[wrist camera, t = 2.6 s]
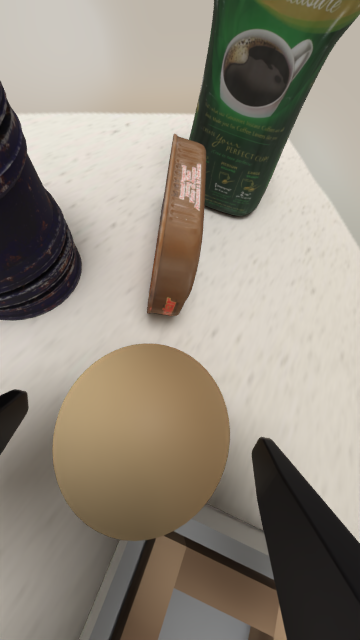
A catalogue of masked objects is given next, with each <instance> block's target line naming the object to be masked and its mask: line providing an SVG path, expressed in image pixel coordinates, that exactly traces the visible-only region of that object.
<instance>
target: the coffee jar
mask: <svg viewBox="0 0 360 640" xmlns="http://www.w3.org/2000/svg"><path fill="white" fill-rule="evenodd" d="M359 14H360V0H214V11H213V20H212V28H211V35H210V41H209V47H208V54H207V59H206V65H205V71H204V76H203V81H202V86H201V90H200V95H199V100H198V104H197V108H196V113H195V117H194V121H193V126H192V130H191V134H190V138H189V140H191V141H194V142H197V143H200V144H202V145H203V146H204V147H205V150H206V179H205V202H204V205H205V206H208V207H210V208H213V209H215V210H218V211H221V212H224V213H228V214H231V215H236V216H243V215H246V214H249V213H251V212H252V211H254V210H255V209H256V207H257V206H258V204H259V202H260V200H261V198H262V196H263V195H264V192H265V190H266V188H267V186H268V184H269V182H270V179H271V177H272V175H273V172H274V170H275V168H276V165H277V163H278V160H279V158H280V156H281V153H282V151H283V149H284V146H285V144H286V142H287V139H288V137H289V135H290V133H291V130H292V128H293V126H294V124H295V121H296V119H297V117H298V115H299V112H300V110H301V108H302V106H303V104H304V102H305V100H306V97H307V96H308V93H309V92H310V89H311V87H312V86H313V84H314V82H315V79H316V78H317V76H318V73H319V72H320V70H321V68H322V66H323V64H324V62H325V60H326V59H327V57H328V55H329V53H330V52H331V50H332V48H333V47H334V45H335V44H336V42H337V41H338V40H339V38H340V37H341V36H342V35H343V34H344V32H345V31H346V30H347V29H348V28H349V26H350V25H351V24H352V23H353V22H354V21H355V19H356V18H357V17H358V16H359Z"/></svg>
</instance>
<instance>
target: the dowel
mask: <svg viewBox="0 0 360 640" xmlns="http://www.w3.org/2000/svg"><path fill="white" fill-rule="evenodd" d="M229 442H230V428H229V418H228V413H227V408H226V405H225V402H224V399H223V396H222V394H221V392H220V390H219V387H218V386H217V384H216V382H215V381H214V379H213V378H212V376H211V375H210V374H209V373H208V371H207V370H206V369H205V368H204V367H203V366H202V365H201V364H200V363H199V362H198V361H196V360H195V359H194V358H192V357H191V356H189V355H187V354H186V353H184V352H182V351H180V350H178V349H175V348H172V347H169V346H165V345H159V344H137V345H131V346H127V347H123V348H121V349H118V350H115V351H113V352H111V353H109V354H107V355H105V356H104V357H102V358H101V359H99V360H98V361H96V362H95V363H94V364H92V365H91V366H90V367H89V368H88V369H87V370H86V371H85V372H84V373H83V374H82V375H81V376H80V377H79V378H78V379H77V381H76V382H75V383H74V385H73V386H72V387H71V389H70V391H69V392H68V394H67V396H66V398H65V399H64V402H63V404H62V406H61V409H60V411H59V414H58V417H57V421H56V424H55V430H54V435H53V449H52V453H53V465H54V470H55V475H56V479H57V482H58V485H59V488H60V490H61V493H62V494H63V496H64V498H65V500H66V502H67V504H68V505H69V506H70V508H71V509H72V510H73V512H74V513H75V514H76V515H77V516H78V517H79V518H80V519H81V520H82V521H83V522H84V523H85V524H86V525H88V526H89V527H91V528H92V529H94V530H95V531H97V532H99V533H101V534H104V535H106V536H108V537H111V538H116V539H120V540H128V541H141V540H149V539H153V538H157V537H161V536H163V535H166V534H168V533H170V532H172V531H175V530H176V529H178V528H179V527H181V526H182V525H184V524H186V523H187V522H188V521H189V520H190V519H192V518H193V517H194V516H195V515H196V514H197V513H198V512H199V511H200V510H201V509H202V508H203V507H204V505H205V504H206V503H207V502H208V500H209V499H210V497H211V496H212V494H213V493H214V491H215V489H216V487H217V485H218V483H219V481H220V479H221V476H222V474H223V471H224V469H225V465H226V461H227V457H228V451H229Z"/></svg>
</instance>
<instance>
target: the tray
mask: <svg viewBox="0 0 360 640" xmlns="http://www.w3.org/2000/svg"><path fill="white" fill-rule="evenodd" d="M174 532H177V533H179V534H181V535H183V536H185V537H187V538H189V539H191V540H193V541H195V542H197V543H199V544H201V545H203V546H205V547H207V548H209V549H212V550H214V551H216V552H218V553H220V554H222V555H224V556H226V557H228V558H230V559H232V560H234V561H236V562H238V563H240V564H242V565H244V566H246V567H249V568H251V569H253V570H255V571H257V572H259V573H261V574H263V575H265V576H267V577H269V578H271V579H273V580H274V577H273V572H272V568H271V563H270V558H269V554H268V549H267V544H266V539H265V535H264V531H262V530H260V529H258V528H256V527H254V526H252V525H250V524H248V523H246V522H244V521H241V520H239V519H237V518H235V517H233V516H231V515H229V514H227V513H225V512H223V511H221V510H219V509H216V508H214V507H212V506H210V505H208V504H205V505H204V507H203V508H202V509H201V510H200V511H199V512H198V513H197V514H196V515H195V516H194V517H193V518H192V519H190V520H189V521H188V522H187V523H186V524H184V525H182V526H181V527H179V528H178V529H176V530H175V531H174ZM146 543H147V540H141V541H128V540H119V543H118V545H117V548H116V550H115V552H114V555H113V557H112V560H111V562H110V565H109V567H108V570H107V572H106V574H105V577H104V579H103V582H102V584H101V587H100V589H99V592H98V594H97V596H96V599H95V601H94V604H93V606H92V609H91V611H90V614H89V616H88V618H87V621H86V623H85V626H84V628H83V631H82V633H81V636H80V638H79V640H111V638H112V635H113V632H114V629H115V627H116V624H117V621H118V619H119V616H120V613H121V610H122V608H123V605H124V602H125V600H126V597H127V594H128V591H129V589H130V586H131V583H132V581H133V578H134V575H135V572H136V570H137V567H138V564H139V562H140V559H141V556H142V553H143V551H144V548H145V545H146ZM250 627H251V626H250V625H248V624H246V623H244V622H242V621H240V620H238V619H236V618H234V617H232V616H230V615H227V614H225V613H223V612H221V611H219V610H217V609H215V608H213V607H211V606H209V605H207V604H205V603H203V602H201V601H199V600H197V599H195V598H193V597H191V596H189V595H187V594H185V593H183V592H181V591H179V590H177V589H175V588H174V589H173V592H172V595H171V599H170V602H169V605H168V608H167V612H166V615H165V618H164V621H163V625H162V628H161V631H160V634H159V638H158V640H248V638H249V633H250Z"/></svg>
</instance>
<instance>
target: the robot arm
mask: <svg viewBox="0 0 360 640" xmlns="http://www.w3.org/2000/svg"><path fill="white" fill-rule="evenodd" d="M27 411H28V395H27V392H26V391H22V390H16V389H15V390H11V391H9V392H7V393H5V394H3V395H1V396H0V455H1V453H2V452H3V450H4V449H5V447H6V445H7V444H8V442H9V441H10V439H11V437H12V436H13V434H14V433H15V431H16V429H17V428H18V426H19V425H20V423H21V422H22V420H23V418H24V417H25V415H26V414H27ZM252 461H253V469H254V478H255V486H256V494H257V501H258V506H259V511H260V516H261V521H262V525H263V530H264V535H265V539H266V544H267V549H268V554H269V558H270V563H271V568H272V572H273V577H274V582H275V586H276V591H277V596H278V601H279V605H280V610H281V615H282V619H283V624H284V629H285V633H286V638H287V640H360V543H359V542H358V541H357V540H356V538H355V537H354V536H353V535H352V534H351V533H350V531H349V530H348V529H347V528H346V527H345V525H344V524H343V523H342V522H341V521H340V520H339V518H338V517H337V516H336V515H335V514H334V512H333V511H332V510H331V509H330V508H329V507H328V505H327V504H326V503H325V502H324V501H323V499H322V498H321V497H320V496H319V495H318V494H317V492H316V491H315V490H314V489H313V488H312V486H311V485H310V484H309V483H308V482H307V481H306V479H305V478H304V477H303V476H302V475H301V473H300V472H299V471H298V470H297V469H296V468H295V466H294V465H293V464H292V463H291V462H290V460H289V459H288V458H287V457H286V456H285V455H284V453H283V452H282V451H281V450H280V449H279V447H278V446H277V445H276V444H275V443H274V442H273V440H271V439H270V438H265V437H260V438H259V439H258V441H257V443H256V445H255V446H254V448H253V450H252Z"/></svg>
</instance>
